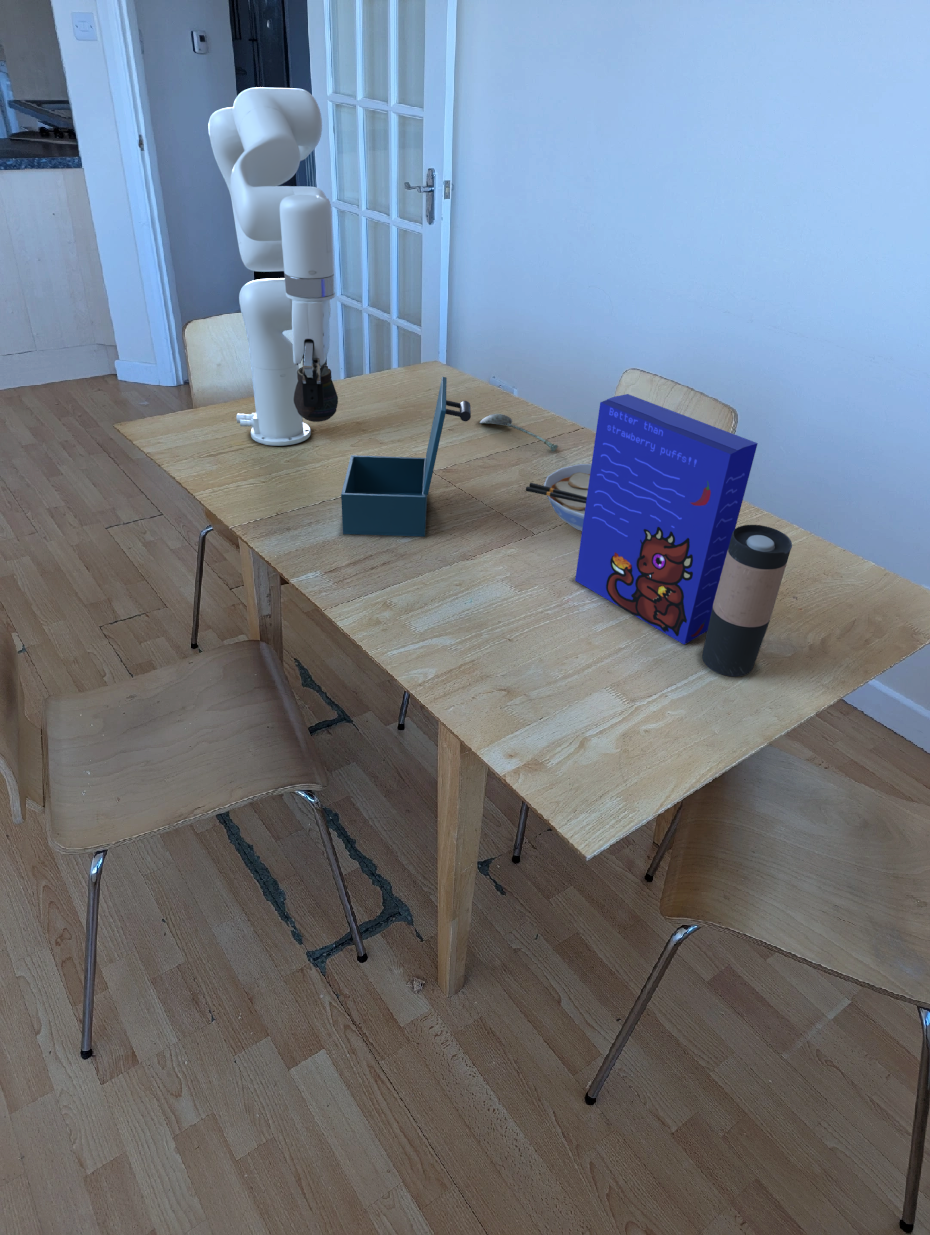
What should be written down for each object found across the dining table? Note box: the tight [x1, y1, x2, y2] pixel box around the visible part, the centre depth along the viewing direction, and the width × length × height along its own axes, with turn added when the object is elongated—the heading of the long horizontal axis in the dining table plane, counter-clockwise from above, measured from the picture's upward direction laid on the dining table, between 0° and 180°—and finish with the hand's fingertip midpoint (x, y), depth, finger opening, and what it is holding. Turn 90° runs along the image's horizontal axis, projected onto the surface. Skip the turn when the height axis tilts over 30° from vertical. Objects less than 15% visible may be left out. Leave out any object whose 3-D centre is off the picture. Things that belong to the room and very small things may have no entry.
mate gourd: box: [294, 365, 339, 423], centre depth 136 cm, size 7×8×10 cm
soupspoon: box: [479, 413, 559, 453], centre depth 181 cm, size 22×3×7 cm
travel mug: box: [701, 524, 793, 678], centre depth 111 cm, size 8×8×20 cm
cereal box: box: [574, 393, 758, 645], centre depth 119 cm, size 22×6×30 cm, turn 40°
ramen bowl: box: [525, 463, 592, 532], centre depth 146 cm, size 25×23×8 cm
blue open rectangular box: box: [340, 454, 428, 538], centre depth 147 cm, size 14×16×8 cm
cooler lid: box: [423, 376, 472, 496], centre depth 141 cm, size 15×16×5 cm
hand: (316, 397), depth 136 cm, fingers closed on mate gourd, 7 cm apart
